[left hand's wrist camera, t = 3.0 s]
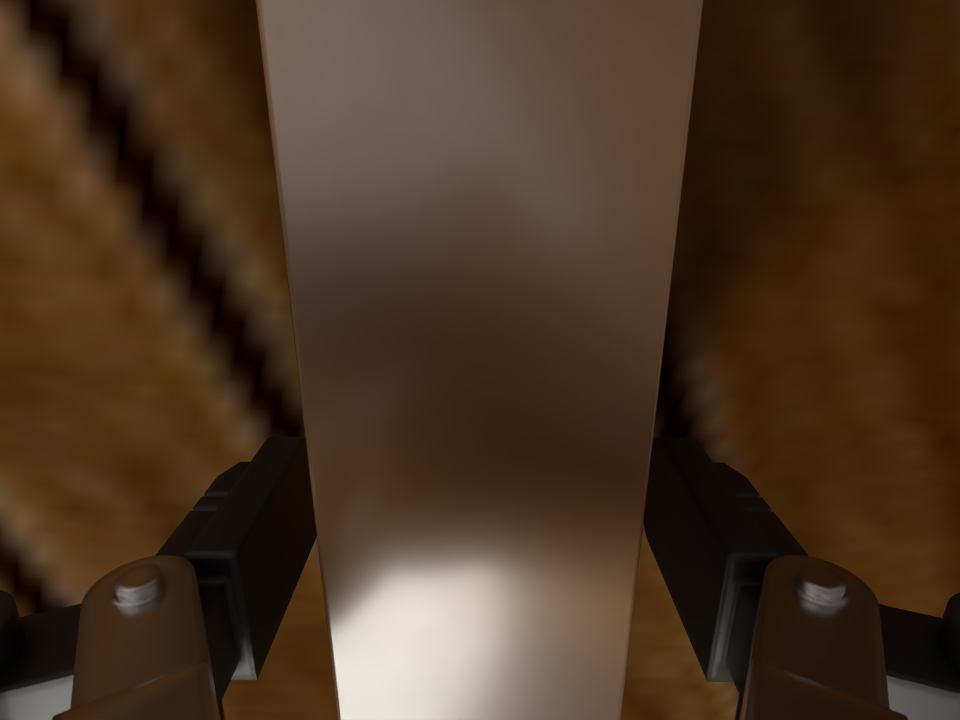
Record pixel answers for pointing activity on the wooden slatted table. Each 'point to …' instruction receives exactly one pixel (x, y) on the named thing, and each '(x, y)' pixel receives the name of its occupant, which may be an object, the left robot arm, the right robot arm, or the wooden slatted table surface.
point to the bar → (479, 332)
